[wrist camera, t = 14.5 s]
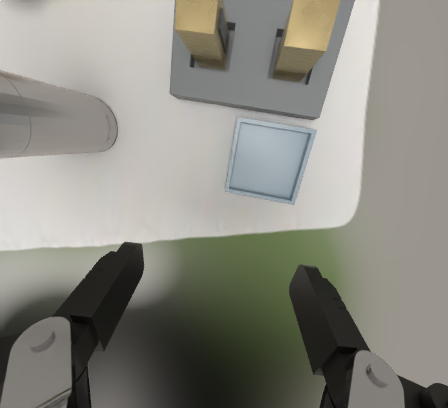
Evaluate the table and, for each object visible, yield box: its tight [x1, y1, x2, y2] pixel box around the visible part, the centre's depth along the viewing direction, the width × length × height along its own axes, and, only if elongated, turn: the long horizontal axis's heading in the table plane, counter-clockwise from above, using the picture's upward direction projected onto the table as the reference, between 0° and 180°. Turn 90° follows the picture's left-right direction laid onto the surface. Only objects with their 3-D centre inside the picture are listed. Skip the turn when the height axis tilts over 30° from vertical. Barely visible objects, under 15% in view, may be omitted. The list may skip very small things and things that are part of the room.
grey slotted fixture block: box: [170, 0, 355, 120], centre depth 27 cm, size 22×13×3 cm, turn 81°
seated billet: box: [175, 0, 230, 71], centre depth 23 cm, size 4×4×10 cm
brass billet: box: [272, 0, 340, 82], centre depth 22 cm, size 4×4×10 cm
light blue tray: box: [225, 117, 317, 205], centre depth 31 cm, size 12×12×2 cm
